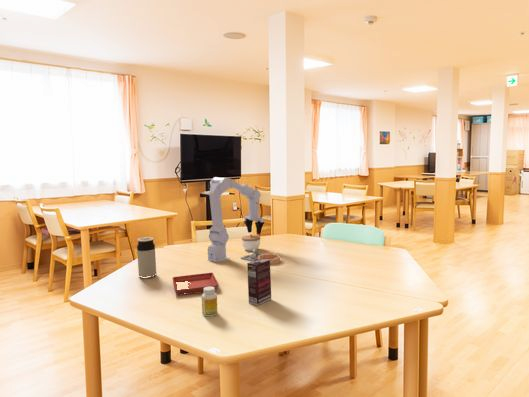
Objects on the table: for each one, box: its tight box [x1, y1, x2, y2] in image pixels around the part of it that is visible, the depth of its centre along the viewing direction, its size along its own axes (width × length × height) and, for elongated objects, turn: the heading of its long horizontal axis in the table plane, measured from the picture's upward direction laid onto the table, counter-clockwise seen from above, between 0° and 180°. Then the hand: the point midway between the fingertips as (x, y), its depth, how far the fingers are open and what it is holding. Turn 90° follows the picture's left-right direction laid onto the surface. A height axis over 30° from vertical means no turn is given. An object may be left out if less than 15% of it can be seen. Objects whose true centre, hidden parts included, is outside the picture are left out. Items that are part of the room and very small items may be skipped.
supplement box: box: [246, 258, 272, 307], centre depth 154 cm, size 9×5×16 cm, turn 141°
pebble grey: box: [248, 252, 256, 259], centre depth 213 cm, size 4×4×4 cm
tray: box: [240, 252, 263, 262], centre depth 216 cm, size 12×9×1 cm
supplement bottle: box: [201, 286, 218, 317], centre depth 143 cm, size 5×5×10 cm
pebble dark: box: [251, 249, 260, 256], centre depth 219 cm, size 4×4×4 cm
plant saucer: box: [171, 272, 220, 295], centre depth 173 cm, size 18×18×3 cm
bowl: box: [258, 253, 281, 266], centre depth 208 cm, size 11×11×3 cm
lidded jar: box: [241, 233, 261, 252], centre depth 233 cm, size 11×11×9 cm
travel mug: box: [136, 236, 157, 277], centre depth 189 cm, size 8×8×18 cm
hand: (254, 233), depth 234 cm, fingers open, 7 cm apart
